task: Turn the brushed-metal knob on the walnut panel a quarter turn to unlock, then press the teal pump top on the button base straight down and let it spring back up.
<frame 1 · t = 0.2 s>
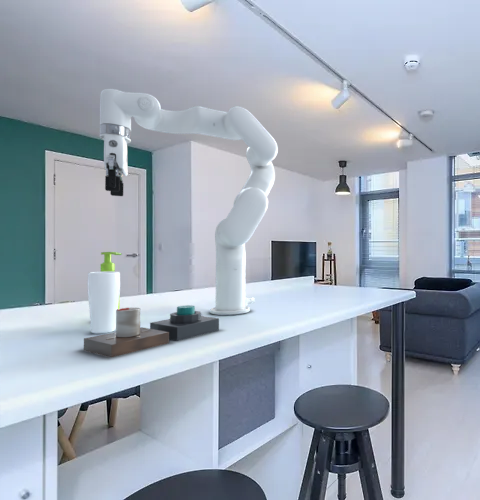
hand: (114, 193, 101), 37 cm above the table, tool pointing down, fingers open, 9 cm apart
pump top: (185, 310, 87), point 6 cm above the table, slide at 0.1 cm
lock knob: (128, 321, 74), point 5 cm above the table, hinge at 0.0°
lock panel: (128, 346, 74), on the table
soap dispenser: (108, 321, 101), on the table
white lotion bottle: (103, 332, 88), on the table
button base: (185, 333, 87), on the table
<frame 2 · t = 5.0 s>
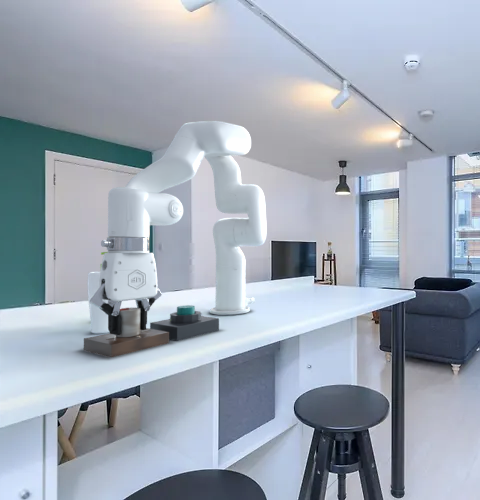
hand: (128, 330, 74), 3 cm above the table, tool pointing down, fingers closed on lock knob, 4 cm apart
lock knob: (128, 321, 74), point 5 cm above the table, hinge at -0.1°, touching gripper
everything else where it was.
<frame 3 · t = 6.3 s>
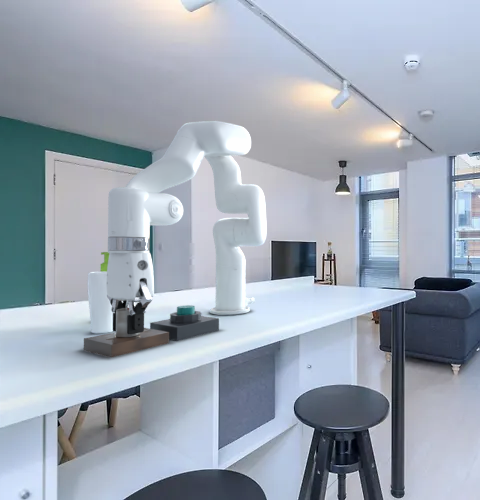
hand: (128, 330, 74), 3 cm above the table, tool pointing down, fingers closed on lock knob, 4 cm apart
lock knob: (128, 321, 74), point 5 cm above the table, hinge at 90.7°, touching gripper
everything else where it was.
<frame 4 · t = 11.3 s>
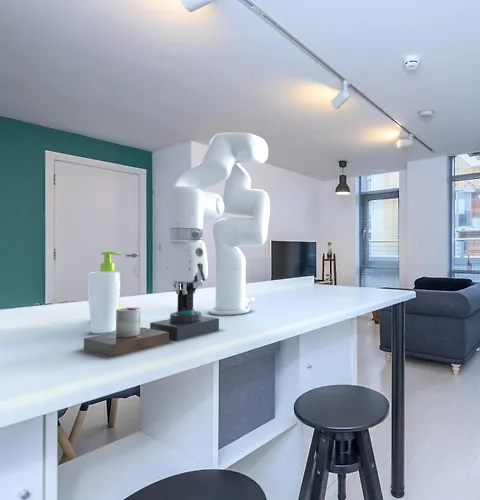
hand: (185, 310, 87), 6 cm above the table, tool pointing down, fingers closed
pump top: (185, 314, 87), point 5 cm above the table, slide at -0.8 cm, touching gripper
lock knob: (128, 321, 74), point 5 cm above the table, hinge at 91.9°
everything else where it was.
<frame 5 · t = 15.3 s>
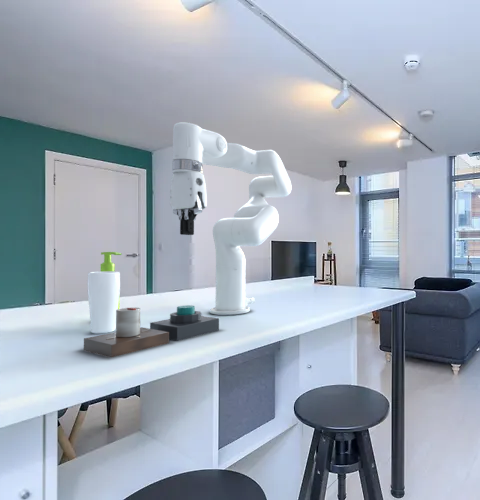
hand: (187, 234, 97), 25 cm above the table, tool pointing down, fingers closed
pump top: (185, 310, 87), point 6 cm above the table, slide at 0.1 cm
everything else where it was.
at the end: lock knob at +92° (first picture: +0°); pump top pushed in 1.1 cm at the most during the clip and back out by the end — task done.
